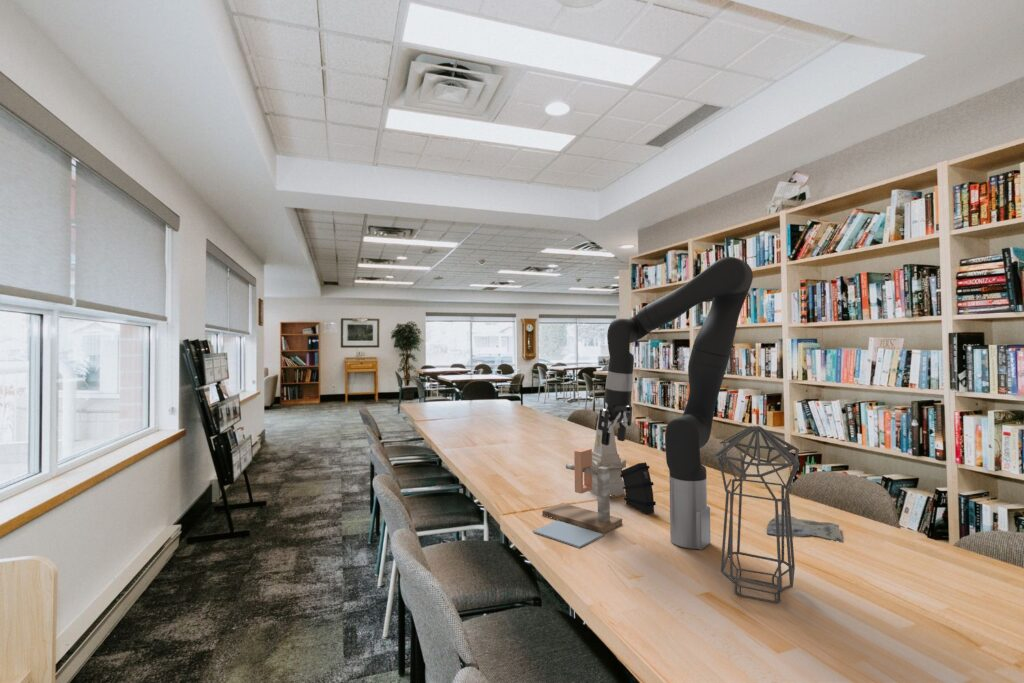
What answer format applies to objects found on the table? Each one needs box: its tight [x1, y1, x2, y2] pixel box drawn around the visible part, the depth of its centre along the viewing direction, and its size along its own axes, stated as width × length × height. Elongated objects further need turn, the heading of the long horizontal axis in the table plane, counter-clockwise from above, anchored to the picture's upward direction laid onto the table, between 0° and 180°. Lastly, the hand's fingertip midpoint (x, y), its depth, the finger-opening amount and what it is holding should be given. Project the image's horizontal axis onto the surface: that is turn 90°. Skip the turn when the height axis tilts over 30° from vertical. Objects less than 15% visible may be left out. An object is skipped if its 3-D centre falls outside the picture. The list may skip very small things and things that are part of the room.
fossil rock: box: [766, 513, 844, 543], centre depth 136 cm, size 18×15×2 cm
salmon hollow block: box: [573, 447, 593, 495], centre depth 146 cm, size 2×6×12 cm, turn 136°
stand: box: [541, 463, 623, 534], centre depth 146 cm, size 22×10×17 cm, turn 46°
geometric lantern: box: [712, 425, 801, 604], centre depth 102 cm, size 16×16×35 cm
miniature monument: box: [589, 407, 627, 496], centre depth 174 cm, size 10×10×30 cm
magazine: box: [620, 461, 657, 515], centre depth 156 cm, size 4×13×15 cm, turn 23°
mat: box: [532, 520, 604, 549], centre depth 135 cm, size 16×11×1 cm
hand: (613, 442), depth 142 cm, fingers open, 8 cm apart
